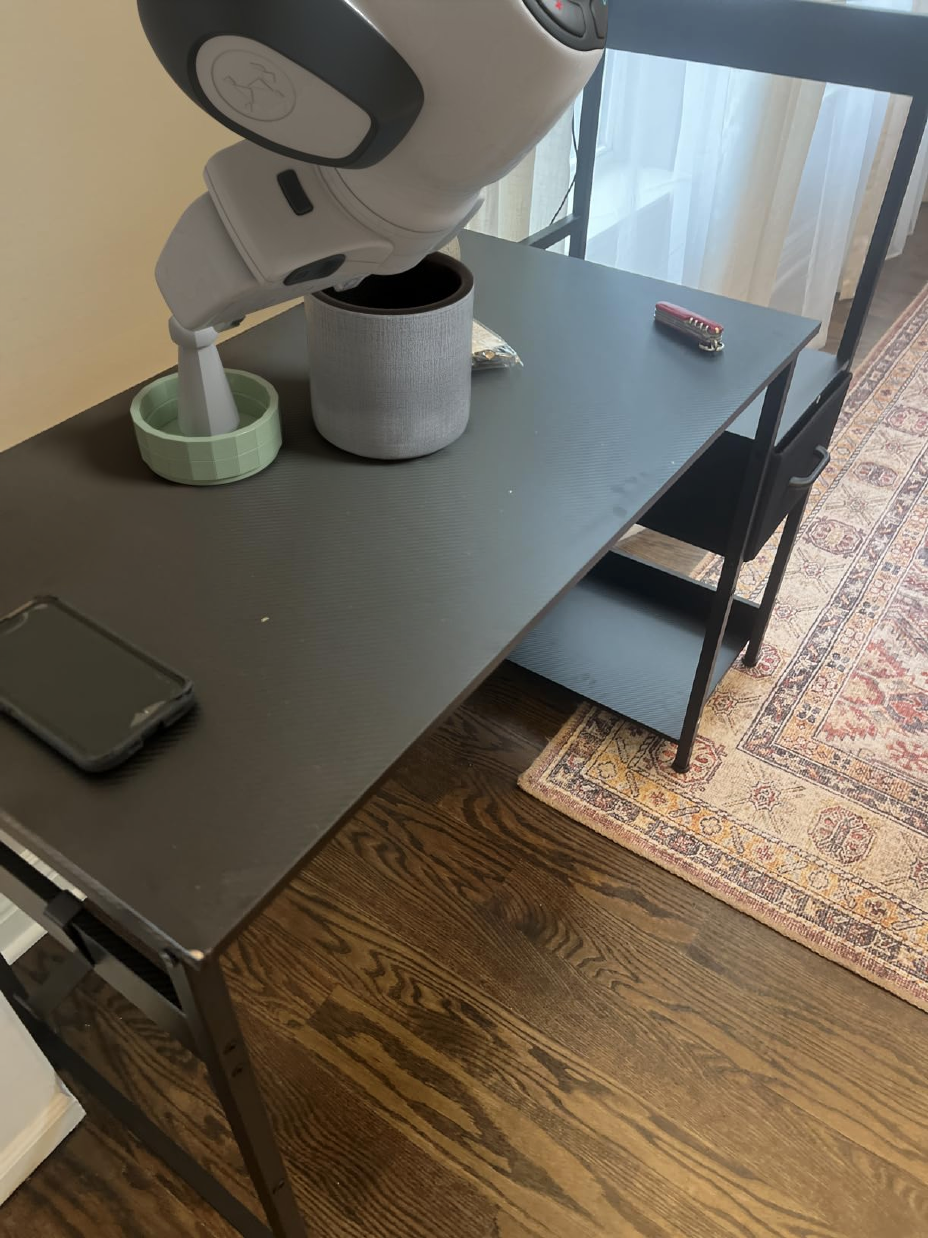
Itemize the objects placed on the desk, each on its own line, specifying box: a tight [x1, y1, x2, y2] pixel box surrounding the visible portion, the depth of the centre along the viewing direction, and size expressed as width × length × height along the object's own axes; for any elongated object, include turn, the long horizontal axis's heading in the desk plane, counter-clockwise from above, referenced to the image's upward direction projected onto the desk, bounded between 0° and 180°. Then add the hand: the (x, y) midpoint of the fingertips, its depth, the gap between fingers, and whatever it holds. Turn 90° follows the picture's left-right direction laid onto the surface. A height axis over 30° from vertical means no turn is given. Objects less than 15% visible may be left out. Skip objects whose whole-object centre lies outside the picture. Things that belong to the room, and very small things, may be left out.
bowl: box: [129, 367, 284, 486], centre depth 90 cm, size 14×14×5 cm
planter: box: [303, 251, 475, 461], centre depth 90 cm, size 16×16×16 cm
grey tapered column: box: [167, 314, 240, 437], centre depth 86 cm, size 6×6×13 cm
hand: (282, 298), depth 60 cm, fingers open, 8 cm apart
